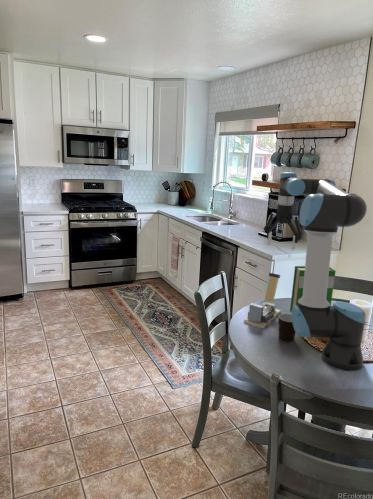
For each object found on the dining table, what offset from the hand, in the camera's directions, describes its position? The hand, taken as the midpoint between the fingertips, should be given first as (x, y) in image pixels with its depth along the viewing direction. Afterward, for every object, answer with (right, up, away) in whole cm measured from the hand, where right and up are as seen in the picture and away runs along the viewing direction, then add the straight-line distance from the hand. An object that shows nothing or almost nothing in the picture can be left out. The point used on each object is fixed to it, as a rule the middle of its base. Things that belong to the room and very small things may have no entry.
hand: (281, 246), depth 194 cm
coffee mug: (-3, -40, -25) cm, 47 cm away
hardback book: (+15, -34, +2) cm, 37 cm away
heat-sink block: (-11, -33, -7) cm, 36 cm away
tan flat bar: (-7, -27, -2) cm, 28 cm away
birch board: (-10, -35, -5) cm, 37 cm away
